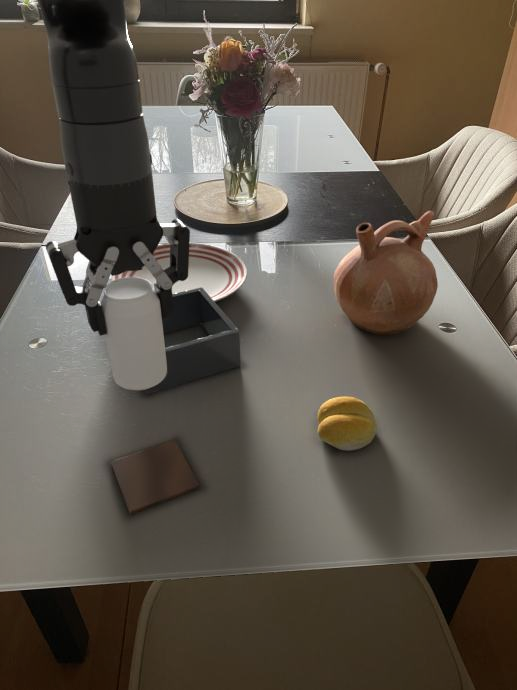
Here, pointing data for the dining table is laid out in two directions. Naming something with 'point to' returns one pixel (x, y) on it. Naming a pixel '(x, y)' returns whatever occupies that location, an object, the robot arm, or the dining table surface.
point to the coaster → (153, 476)
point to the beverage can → (134, 333)
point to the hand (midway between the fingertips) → (132, 323)
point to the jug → (387, 277)
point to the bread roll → (346, 423)
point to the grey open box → (199, 340)
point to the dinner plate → (200, 270)
